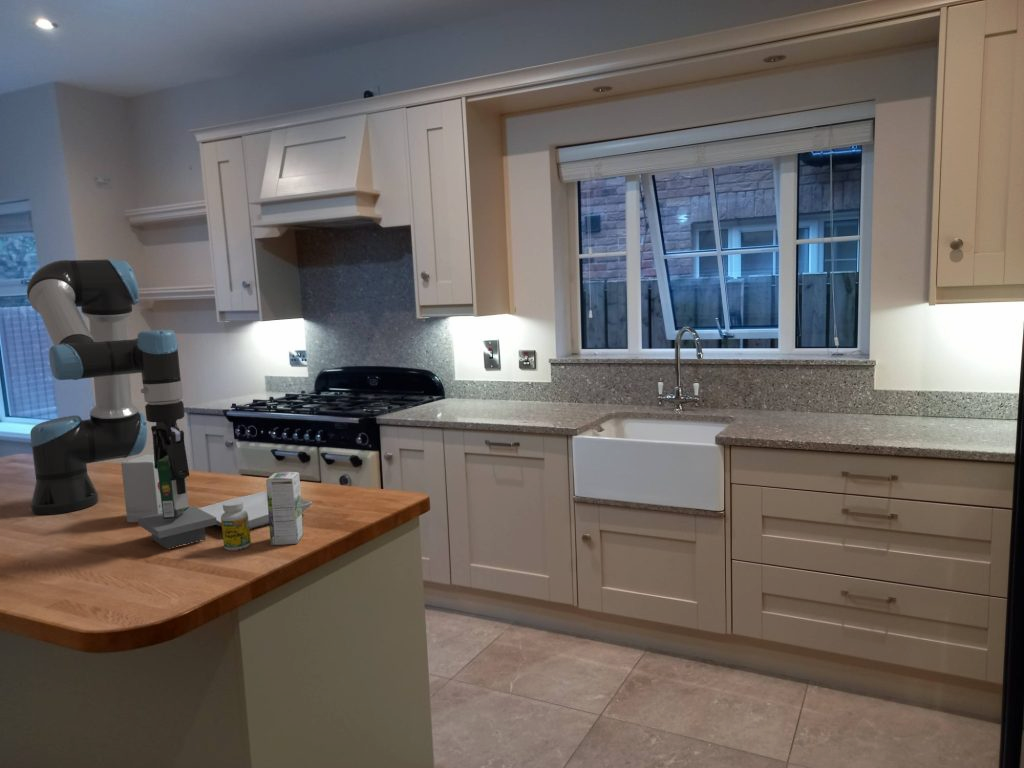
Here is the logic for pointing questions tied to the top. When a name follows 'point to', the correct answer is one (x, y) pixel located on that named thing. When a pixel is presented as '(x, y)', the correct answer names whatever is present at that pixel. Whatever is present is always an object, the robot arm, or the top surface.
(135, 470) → the supplement box
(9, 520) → the top surface
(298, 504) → the syrup box
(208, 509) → the salad plate
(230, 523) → the supplement bottle
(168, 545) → the grey stand
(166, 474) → the coffee box
